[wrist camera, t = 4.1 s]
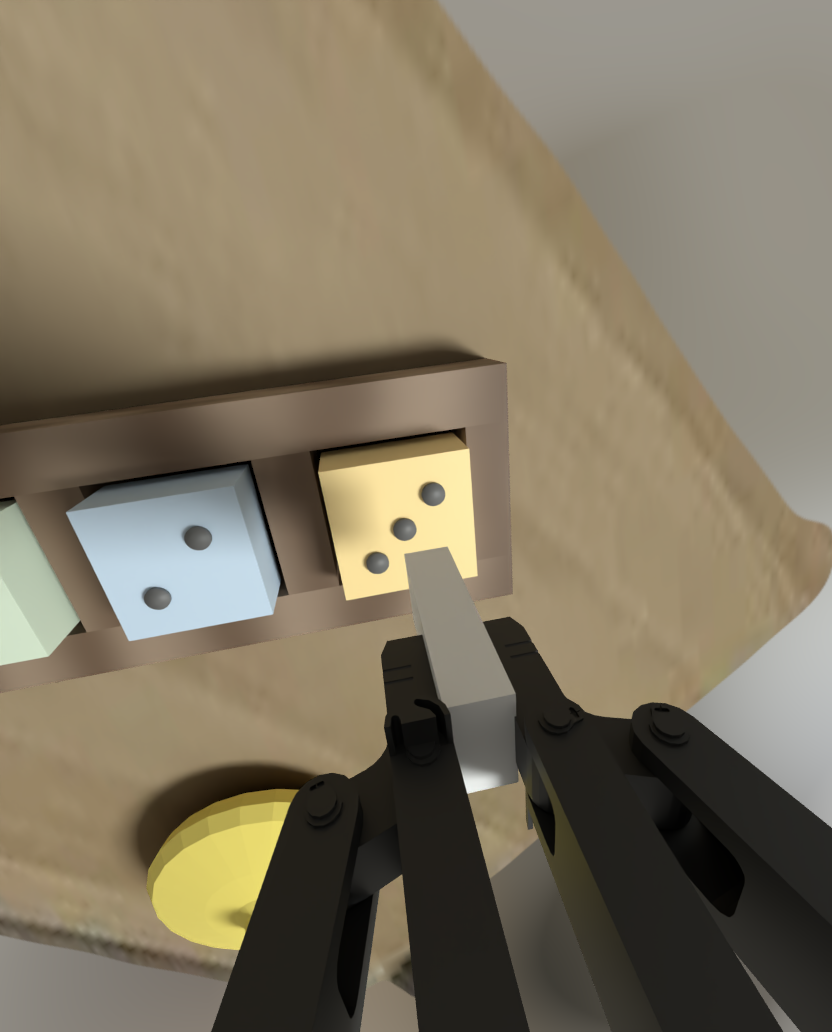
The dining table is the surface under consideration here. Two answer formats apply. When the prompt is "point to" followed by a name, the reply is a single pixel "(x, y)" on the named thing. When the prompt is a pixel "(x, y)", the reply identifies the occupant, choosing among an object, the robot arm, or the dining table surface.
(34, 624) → the tile
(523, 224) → the dining table surface
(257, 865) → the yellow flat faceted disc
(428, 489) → the tile
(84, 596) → the board
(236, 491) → the tile
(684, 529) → the dining table surface
